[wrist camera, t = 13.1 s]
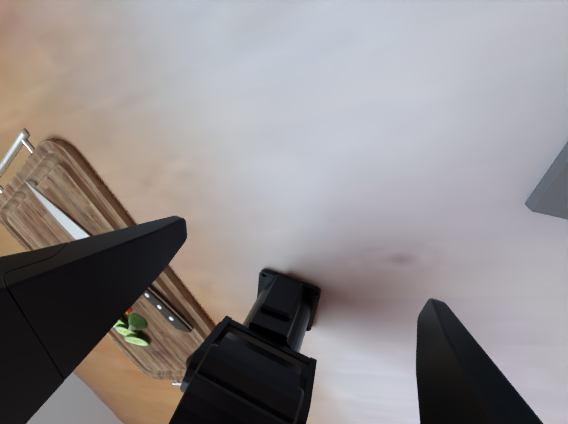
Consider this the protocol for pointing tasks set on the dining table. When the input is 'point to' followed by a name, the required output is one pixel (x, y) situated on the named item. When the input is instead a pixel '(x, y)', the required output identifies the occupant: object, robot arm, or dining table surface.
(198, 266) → the dining table surface
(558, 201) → the thin grey square panel
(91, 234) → the chopping board
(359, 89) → the dining table surface
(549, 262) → the dining table surface
